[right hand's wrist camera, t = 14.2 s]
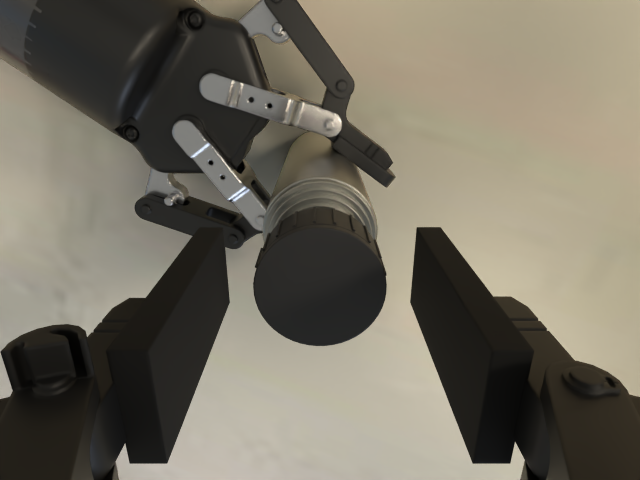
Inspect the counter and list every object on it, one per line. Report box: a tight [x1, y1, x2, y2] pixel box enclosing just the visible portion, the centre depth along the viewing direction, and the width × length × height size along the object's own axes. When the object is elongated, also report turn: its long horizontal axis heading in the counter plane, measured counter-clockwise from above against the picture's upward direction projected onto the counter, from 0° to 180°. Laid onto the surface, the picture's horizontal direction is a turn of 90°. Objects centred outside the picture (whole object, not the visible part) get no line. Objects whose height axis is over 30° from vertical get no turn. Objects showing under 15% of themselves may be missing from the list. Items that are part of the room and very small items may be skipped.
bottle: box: [262, 131, 377, 244], centre depth 22 cm, size 4×4×18 cm
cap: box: [253, 207, 386, 346], centre depth 14 cm, size 4×4×2 cm
